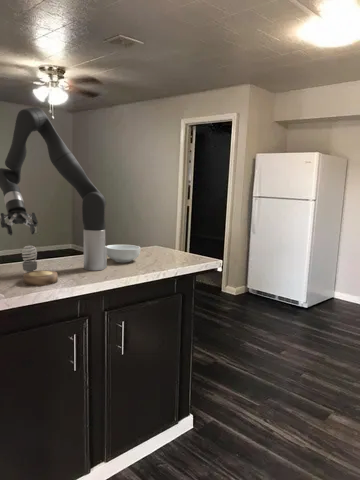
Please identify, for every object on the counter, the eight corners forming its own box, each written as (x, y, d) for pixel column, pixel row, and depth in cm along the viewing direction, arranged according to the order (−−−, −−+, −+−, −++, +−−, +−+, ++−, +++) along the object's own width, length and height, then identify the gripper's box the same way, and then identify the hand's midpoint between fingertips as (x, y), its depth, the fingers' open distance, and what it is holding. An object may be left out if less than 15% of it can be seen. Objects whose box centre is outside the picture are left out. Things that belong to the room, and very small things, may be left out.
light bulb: (39, 274, 159) (38, 244, 157) (34, 277, 154) (34, 247, 152) (25, 273, 159) (24, 244, 157) (20, 277, 153) (19, 246, 152)
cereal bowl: (144, 263, 186) (144, 249, 185) (109, 265, 180) (109, 250, 179) (135, 257, 202) (135, 243, 201) (102, 258, 195) (102, 244, 194)
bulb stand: (42, 276, 156) (42, 268, 155) (64, 281, 150) (64, 272, 149) (16, 282, 145) (16, 274, 145) (38, 287, 139) (38, 278, 139)
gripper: (-2, 198, 164) (5, 228, 156) (33, 198, 172) (41, 227, 164) (-4, 210, 169) (2, 240, 161) (30, 209, 177) (38, 238, 169)
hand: (22, 233), depth 163 cm, fingers open, 8 cm apart
